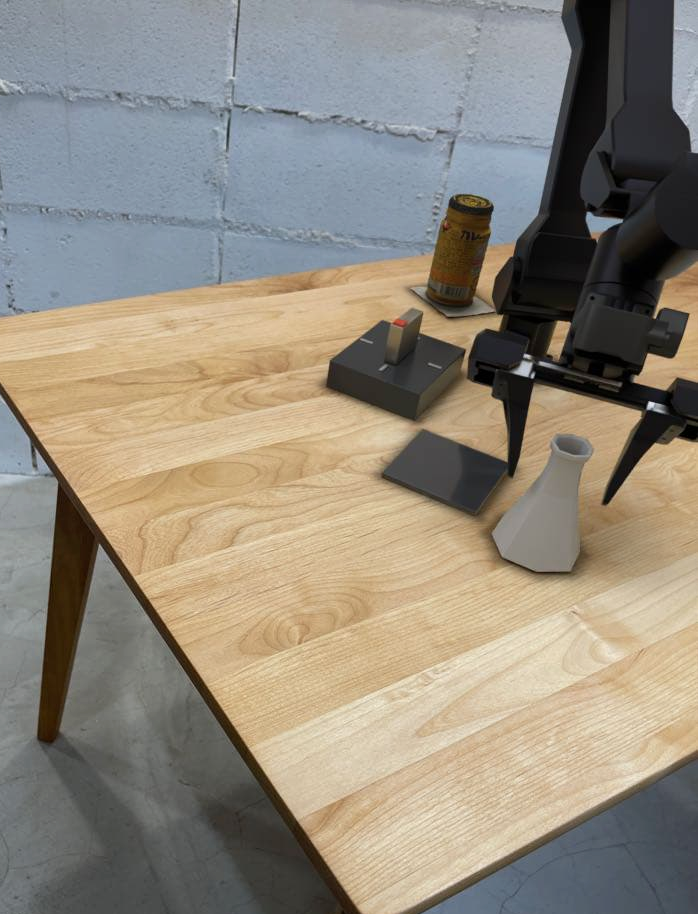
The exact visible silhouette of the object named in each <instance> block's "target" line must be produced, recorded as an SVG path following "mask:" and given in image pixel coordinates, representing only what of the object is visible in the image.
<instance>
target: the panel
mask: <svg viewBox="0 0 698 914" xmlns="http://www.w3.org/2000/svg"><path fill="white" fill-rule="evenodd" d="M392 323H393V322H389V321H387V320H384V319H381V320H380V321H379V322H377V323H376V324H375V325H373V326H372V327H371V328H370V329H368V330H367V331H366V332H365V333H363V334H362V335H360V336H359V337H358V338H357V339H355V340H354V341H352V343H350V344H349V345H348V346H346V347H345V348H344V349H342V350H341V351H340V352H339V353H337V354H335V356H333V357H332V358H330V359H329V364H328V369H327V376H326V383H325V387H327V388H330V389H332V390H335V391H337V392H340V393H342V394H344V395H347V396H350V397H352V398H356V399H358V400H360V401H362V402H366V403H368V404H371V405H373V406H375V407H378V408H381V409H383V410H385V411H388V412H390V413H394V414H396V415H399V416H401V417H403V418H406V419H409V420H411V421H416V420H417V418H418V417H419V416H421V415H422V413H423V412H424V411H426V409H427V408H428V407H429V406H430V405H431V404H432V403H434V401H435V400H436V399H438V397H439V396H440V395H441V394H442V393H443V392H444V391H445V390H446V389H447V388H448V387H449V386H450V385H451V384H452V383H453V382H454V381H455V380H456V379H457V378H458V377H459V375H460V374H461V372H462V368H463V364H464V360H465V357H466V353H467V349H466V348H465V347H462V346H459V345H456V344H453V343H451V342H446V341H444V340H441V339H439V338H435V337H433V336H431V335H427V334H424V333H422V332H419V336H418V341H417V346H416V348H415V349H413V350H412V351H411V352H410V353H409V354H408V355H407V356H405V357H404V358H403V359H402V360H401V361H400V362H399V363H397V364H396V365H394V364H392V363H389V362H386V361H384V356H385V351H386V346H387V341H388V336H389V330H390V325H391V324H392Z"/></svg>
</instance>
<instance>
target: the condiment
mask: <svg viewBox="0 0 698 914" xmlns="http://www.w3.org/2000/svg"><path fill="white" fill-rule="evenodd" d="M494 209H495V206H494V204H493V202H492V201H491V200H490V199H488V198H486V197H484V196H481V195H476V194H471V193H459V194H458V193H457V194H454V195H452V196H451V197H450V198H449V199H448V204H447V208H446V211H445V217H444V218H443V219H442V220H441V222H440V224H439V225H440V226H439V229H438V233H437V234H438V235H437V239H436V243H435V246H434V252H433V256H432V262H431V266H430V271H429V275H428V279H427V284H426V286H412V287H410V289H411V290H412V291H413V292H415V293H416V295H418V296H420V298H422V299H423V300H425V302H427V303H428V304H431V305H432V306H433V307H434V308H435V309H437V311H439V312H441V313H443V315H445V316H446V317H447V318H448V317H454V318H455V317H465V316H473V315H474V316H477V315H481V314H489V313H492V312H493V313H494V312H496V309H495V308H493V307H491V306H490V305H489V304H487V303H486V302H484V300H482V299H480V298H479V297H477V296H476V292H477V289H478V288H477V287H478V285H479V281H480V276H481V272H482V269H483V265H484V261H485V258H486V253H487V250H488V247H489V241H490V238H491V234H492V229H491V226H490V224H491V222H492V215H493V212H494Z"/></svg>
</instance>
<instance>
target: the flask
mask: <svg viewBox="0 0 698 914" xmlns="http://www.w3.org/2000/svg"><path fill="white" fill-rule="evenodd" d="M549 447H550V449H551V452H550V455H549V457H548V460H547V463H546V464H545V466H544V468H543V470H542V471H541V473H540V475H538V477H537V478H536V479H535V480H534V481H533V482H532V483H531V485H530V486H529V487H528V489H526V491H525V492H524V493H523V494H522V495H521V496H520V497H519V499H517V500H516V501H515V503H513V504H512V505H511V507H510V508H509V509H508V510H507V511H506V512H505V513H504V514H503V515H502V517H501V518H500V521H499V522H498V523H497V525H496V526H495V528H494V530H493V531H492V533H491V536H492V539H493V540H494V542H495V544H496V548H497V549H498V551H499V554H500V555H501V557H502V558H503V559H506V560H508V561H510V562H513V563H515V564H517V565H520V566H522V567H524V568H527V569H530V570H532V571H534V572H538V573H540V572H571V571H572V569H573V567H574V565H575V563H576V561H577V559H578V557H579V555H580V552H581V545H580V543H581V542H580V521H579V489H580V484H581V483H580V482H581V477H582V472H583V468H584V466H585V464H586V463H588V462H589V461H590V459H591V457H592V455H593V453H594V451H595V448H594V447H593V445H592V443H591V442H590V441H589V439H587V438H584V437H582V436H579V435H577V434H573V433H555V435H554V436H553V438H552V439H551V440H550V442H549Z"/></svg>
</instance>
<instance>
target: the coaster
mask: <svg viewBox="0 0 698 914" xmlns="http://www.w3.org/2000/svg"><path fill="white" fill-rule="evenodd" d="M507 474H508V461H505V460H503V459H500V458H498V457H495V456H493V455H491V454H487V453H485V452H482V451H480V450H478V449H475V448H472V447H470V446H468V445H465V444H463V443H461V442H457V441H454V440H452V439H449V438H447V437H444V436H442V435H439V434H437V433H434V432H432V431H429V430H427V429H424V428H423V429H422V430H421V431H420V432H419V433H418V434H417V435H416V436H415V437H414V438H413V439H412V440H411V441H410V442H409V443H408V444H407V445H406V446H405V447H404V449H403V450H401V452H400V453H399V454H398V455H397V456H396V457H395V458H394V459H393V460H392V461H391V462H390V463H389V464H388V465H387V466H386V468H384V470H383V471H381V475H380V477H381V478H383V479H386V480H387V481H390V482H393V483H395V484H397V485H400V486H402V487H405V488H407V489H409V490H412V491H414V492H416V493H419V494H421V495H424V496H426V497H428V498H431V499H433V500H435V501H438V502H440V503H443V504H445V505H447V506H449V507H452V508H454V509H457V510H459V511H461V512H464V513H466V514H468V515H470V516H474V517H476V515H477V514H478V513H479V511H480V510H481V508H482V507H483V506H484V504H485V503H486V502H487V500H488V499H489V498H490V496H491V495H492V494H493V492H494V490H495V489H496V488H497V487H498V485H499V484H500V483H501V481H502V480H503V478H504V477H505V475H507Z"/></svg>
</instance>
